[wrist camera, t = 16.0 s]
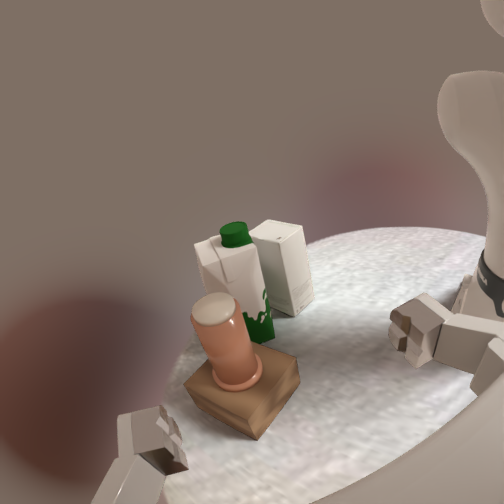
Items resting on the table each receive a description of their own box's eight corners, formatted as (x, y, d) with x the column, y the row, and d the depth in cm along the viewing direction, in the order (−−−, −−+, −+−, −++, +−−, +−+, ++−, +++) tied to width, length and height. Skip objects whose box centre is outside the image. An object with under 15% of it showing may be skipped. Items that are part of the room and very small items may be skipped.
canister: (233, 348, 43) (210, 282, 37) (272, 363, 39) (254, 294, 34) (204, 380, 39) (172, 316, 33) (243, 400, 35) (216, 335, 29)
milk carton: (282, 339, 51) (258, 233, 41) (231, 359, 49) (193, 256, 40) (264, 310, 58) (239, 213, 49) (219, 327, 57) (184, 232, 47)
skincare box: (315, 299, 58) (305, 225, 50) (293, 320, 54) (279, 243, 47) (282, 286, 64) (268, 217, 56) (260, 304, 60) (242, 233, 53)
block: (241, 359, 49) (232, 334, 46) (300, 382, 42) (295, 357, 39) (197, 407, 42) (183, 384, 39) (257, 440, 35) (247, 420, 32)
